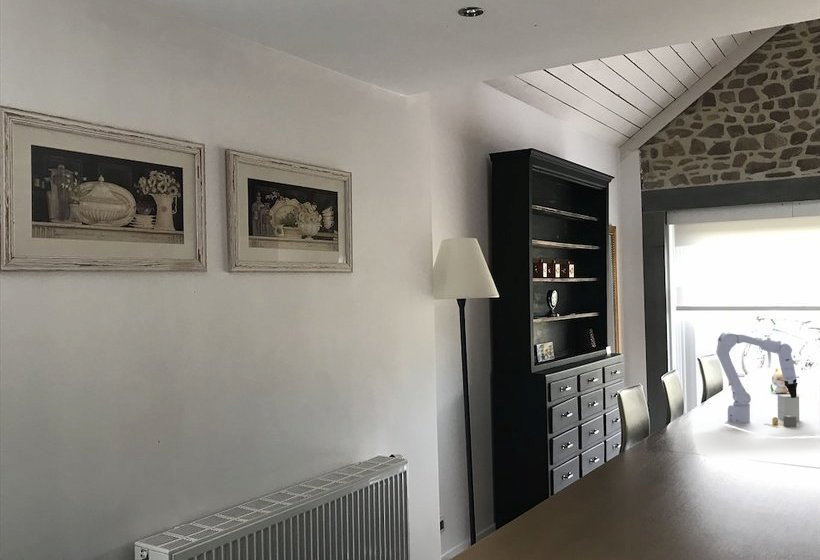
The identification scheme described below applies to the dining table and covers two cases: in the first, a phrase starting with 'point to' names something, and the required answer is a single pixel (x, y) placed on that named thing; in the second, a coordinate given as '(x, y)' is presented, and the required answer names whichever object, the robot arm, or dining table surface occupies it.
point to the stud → (775, 421)
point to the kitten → (778, 382)
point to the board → (779, 425)
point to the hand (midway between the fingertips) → (793, 396)
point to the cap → (790, 421)
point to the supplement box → (788, 406)
